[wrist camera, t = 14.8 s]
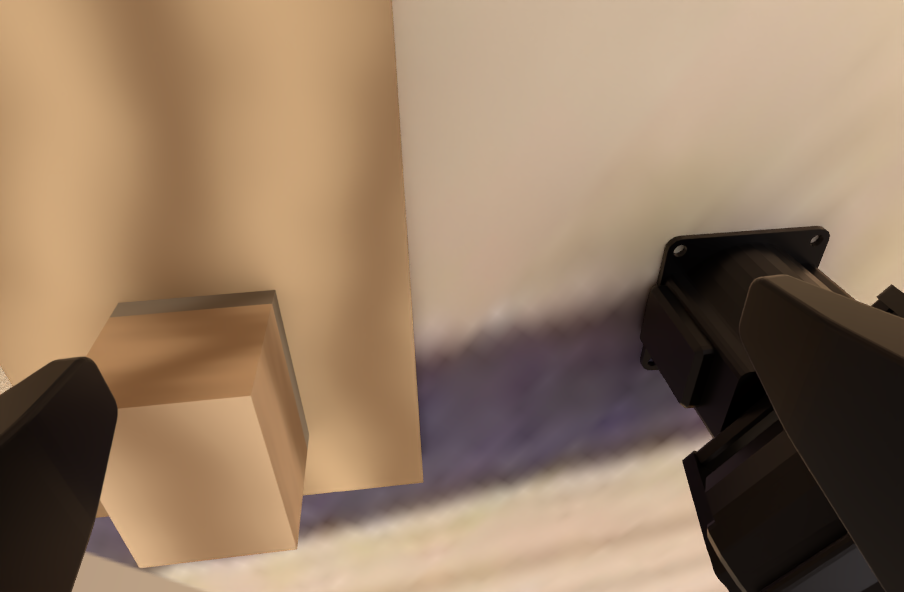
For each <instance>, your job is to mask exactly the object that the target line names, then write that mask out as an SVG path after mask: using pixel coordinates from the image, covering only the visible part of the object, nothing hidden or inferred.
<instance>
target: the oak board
mask: <svg viewBox="0 0 904 592" xmlns="http://www.w3.org/2000/svg"><path fill="white" fill-rule="evenodd" d="M267 290H275V291H276V295H277V299H278V304H279V308H280V312H281V317H282V321H283V325H284V329H285V334H286V338H287V342H288V346H289V351H290V355H291V359H292V363H293V368H294V372H295V376H296V380H297V385H298V389H299V393H300V397H301V402H302V406H303V410H304V415H305V419H306V423H307V427H308V432H309V441H308V450H307V460H306V469H305V478H304V488H303V495H311V494H320V493H329V492H339V491H348V490H357V489H367V488H376V487H385V486H394V485H404V484H413V483H422V482H423V471H422V456H421V441H420V425H419V410H418V395H417V379H416V364H415V349H414V333H413V318H412V303H411V287H410V272H409V257H408V241H407V226H406V211H405V195H404V180H403V165H402V150H401V134H400V119H399V104H398V88H397V73H396V58H395V42H394V27H393V12H392V0H0V365H1V367H2V369H3V370H4V372H5V374H6V375H7V377H8V379H9V380H10V382H11V384H12V385H13V386H15V385H16V384H18V383H19V382H21V381H22V380H24V379H25V378H27V377H28V376H30V375H31V374H33V373H34V372H36V371H37V370H39V369H40V368H42V367H43V366H45V365H47V364H48V363H50V362H51V361H54V360H57V359H64V358H73V357H81V356H85V357H86V356H87V354H88V352H89V351H90V349H91V347H92V346H93V344H94V342H95V341H96V339H97V337H98V336H99V334H100V332H101V331H102V329H103V328H104V326H105V324H106V323H107V321H108V319H109V318H110V316H111V314H112V313H113V311H114V309H115V308H116V306H117V304H118V303H122V302H135V301H147V300H159V299H171V298H183V297H195V296H207V295H219V294H231V293H243V292H255V291H267ZM106 516H109V515H108V513H107V511H106V510H105V508H104V506H103V504H102V503H101V501H100V502H99V506H98V510H97V514H96V518H97V517H106Z"/></svg>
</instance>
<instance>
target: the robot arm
mask: <svg viewBox="0 0 904 592" xmlns="http://www.w3.org/2000/svg"><path fill="white" fill-rule="evenodd" d="M817 235H819V238H818V239H817V240H816V241H815V242H813V243H810V242H811V240H812V238H813V237H815V236H817ZM829 237H830V234H829V232H828V231H827V230H825V229H824V228H823V227H821V226H810V227H797V228H783V229H769V230H755V231H741V232H728V233H714V234H700V235H686V236H678V237H674V238H673V239H671V240H670V241H669V242H668V243H667V244H666V247H665V249H664V254H663V258H662V263H661V267H660V272H659V276H658V281H657V285H655V286H653V288H652V289H651V291H650V293H649V298H648V302H647V307H646V311H645V316H644V321H643V325H642V330H641V335H640V339H641V341H642V343H643V348H642V353H641V357H640V362H641V364H642V366H643V367H644V368H645V369H647V370H659V371H660V372H661V374H662V375H663V377H664V379H665V380H666V382H667V384H668V385H669V387H670V389H671V390H672V392H673V394H674V395H675V397H676V398H677V400H678V402H679V403H680V404H681V405H682V406H683V407H684V408H694V409H695V410H696V412H697V413H698V415H699V417H700V418H701V420H702V421H703V423H704V425H705V426H706V428H707V429H708V431H709V432H710V434H711V436H712V437H713V439H712V440H710V441H709V442H708V443H707V444H706V445H705V446H703V447H702V448H701V449H700V450H699V451H697V452H696V451H693V452H692V453H691V454H689V455H688V456H687V457H686V458H685V459H684V460H682V462H683V466H684V469H685V473H686V476H687V480H688V483H689V487H690V491H691V494H692V498H693V501H694V505H695V509H696V512H697V516H698V519H699V523H700V526H701V530H702V534H703V537H704V541H705V544H706V548H707V551H708V553H709V556H710V559H711V563H712V566H713V569H714V572H715V574H716V576H717V577H718V579H719V580H720V581H721V582H722V583H723V584H724V585H725V586H726V587H727V589H728V590H729V592H904V293H903V292H901V291H900V290H899V289H897V288H896V287H894V286H893V285H892V284H891V285H890V286H889V287H888V288H887V289H885V290H884V291H883V292H882V293H881V294H879V295H878V296H877V298H878V299H879V300H877V301H876V302H875V303H874V304H873V305H871V306H869V305H866V304H864V303H861V302H858V301H856V300H855V299H854V298H852V297H851V296H850V295H849V294H848V293H846V292H845V291H844V290H843V289H842V288H840V287H839V286H838V285H837V284H836V283H834V282H833V281H832V280H831V279H830V278H828V277H827V276H826V275H825V274H824V273H823V272H821V271H820V270H819V269H818V266H819V263H820V261H821V258H822V256H823V253H824V251H825V249H826V246H827V244H828V241H829ZM680 245H684V248H683V250H682V251H680V252H679V253H674V250H675V248H676V247H677V246H680ZM651 358H652V359H653V361H652V362H648V361H649V359H651ZM117 418H118V408H117V403H116V400H115V398H114V396H113V394H112V392H111V391H110V389H109V387H108V385H107V383H106V381H105V379H104V378H103V376H102V374H101V372H100V370H99V368H98V366H97V365H96V363H95V362H94V361H93V360H92V359H91V358H88V357H85V356H81V357H73V358H64V359H57V360H54V361H51V362H50V363H48V364H47V365H45V366H43V367H42V368H40V369H39V370H37V371H36V372H34V373H33V374H31V375H30V376H28V377H27V378H25V379H24V380H22V381H21V382H19V383H18V384H16V385H15V386H13V387H12V388H10V389H8V390H7V391H5V392H4V393H2V394H1V395H0V592H72V589H73V586H74V583H75V580H76V577H77V574H78V571H79V568H80V565H81V562H82V559H83V556H84V553H85V551H86V548H87V545H88V542H89V538H90V535H91V532H92V529H93V526H94V522H95V518H96V514H97V510H98V506H99V502H100V497H101V493H102V488H103V484H104V479H105V474H106V470H107V465H108V461H109V456H110V451H111V447H112V442H113V437H114V433H115V428H116V424H117Z"/></svg>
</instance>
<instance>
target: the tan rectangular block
mask: <svg viewBox="0 0 904 592" xmlns="http://www.w3.org/2000/svg"><path fill="white" fill-rule="evenodd" d="M86 357H88V358H91V359H92V360H93V361H94V362H95V363H96V365H97V366H98V368H99V370H100V372H101V374H102V376H103V378H104V379H105V381H106V383H107V385H108V387H109V389H110V391H111V392H112V394H113V396H114V398H115V400H116V403H117V408H118V418H117V424H116V428H115V433H114V437H113V442H112V447H111V451H110V456H109V461H108V465H107V470H106V474H105V479H104V484H103V488H102V493H101V497H100V501H101V503H102V504H103V506H104V508H105V510H106V511H107V513H108V515H109V516H110V518H111V520H112V521H113V523H114V525H115V527H116V528H117V530H118V532H119V533H120V535H121V537H122V539H123V540H124V542H125V544H126V545H127V547H128V549H129V550H130V552H131V554H132V556H133V557H134V559H135V561H136V562H137V564H138V566H139V568H145V567H153V566H161V565H170V564H178V563H186V562H195V561H203V560H211V559H220V558H228V557H236V556H245V555H253V554H261V553H270V552H278V551H286V550H295V549H297V544H298V535H299V525H300V516H301V507H302V497H303V488H304V478H305V469H306V460H307V450H308V441H309V432H308V427H307V423H306V419H305V415H304V410H303V406H302V402H301V397H300V393H299V389H298V385H297V380H296V376H295V372H294V368H293V363H292V359H291V355H290V351H289V346H288V342H287V338H286V334H285V329H284V325H283V321H282V317H281V312H280V308H279V304H278V299H277V295H276V291H275V290H267V291H255V292H243V293H231V294H219V295H207V296H195V297H183V298H171V299H159V300H147V301H135V302H122V303H118V304H117V306H116V308H115V309H114V311H113V313H112V314H111V316H110V318H109V319H108V321H107V323H106V324H105V326H104V328H103V329H102V331H101V332H100V334H99V336H98V337H97V339H96V341H95V342H94V344H93V346H92V347H91V349H90V351H89V352H88V354H87V356H86Z"/></svg>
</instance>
